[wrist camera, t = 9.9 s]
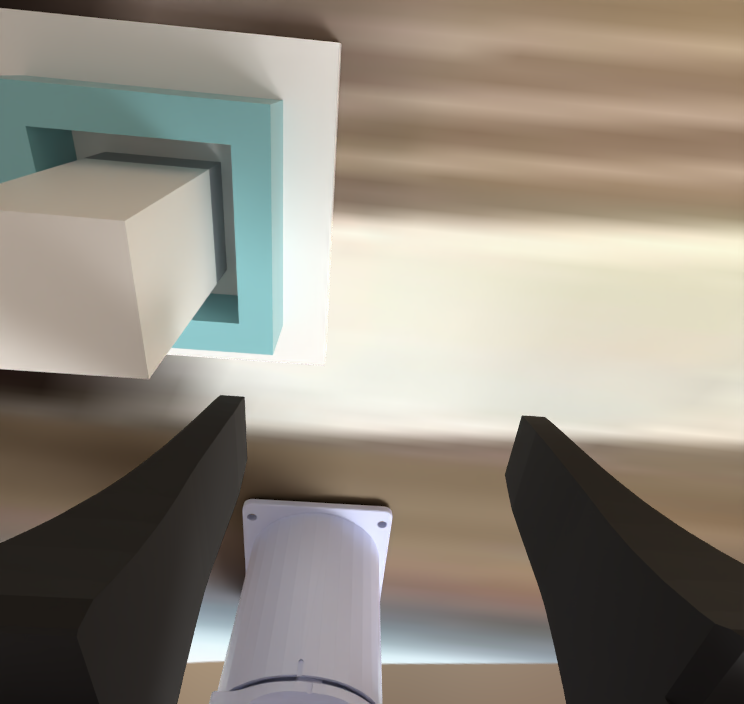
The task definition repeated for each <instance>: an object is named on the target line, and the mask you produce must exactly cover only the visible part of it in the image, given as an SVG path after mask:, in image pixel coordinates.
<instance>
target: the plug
mask: <svg viewBox="0 0 744 704" xmlns="http://www.w3.org/2000/svg"><path fill="white" fill-rule="evenodd" d="M226 270H227V263H226V245H225V227H224V209H223V192H222V174H221V162H214V161H202V160H191V159H180V158H169V157H158V156H147V155H136V154H125V153H113V152H102V153H99V154H96V155H92V156H89V157H86V158H83V159H79V160H76V161H73V162H69V163H66V164H63V165H59V166H56V167H53V168H50V169H46V170H43V171H40V172H36V173H33V174H30V175H26V176H23V177H20V178H16V179H13V180H10V181H7V182H3V183H0V369H8V370H23V371H37V372H52V373H66V374H81V375H96V376H110V377H125V378H139V379H149V378H150V377H151V376H152V374H153V373H154V371H155V370H156V369H157V367H158V366H159V364H160V363H161V362H162V360H163V359H164V357H165V356H166V355H167V353H168V352H169V350H170V349H171V348H172V346H173V345H174V343H175V342H176V341H177V339H178V338H179V336H180V335H181V334H182V332H183V331H184V329H185V328H186V327H187V325H188V324H189V322H190V321H191V320H192V318H193V317H194V315H195V314H196V313H197V311H198V310H199V308H200V307H201V305H202V304H203V303H204V301H205V300H206V298H207V297H208V296H209V294H210V293H211V291H212V290H213V289H214V287H215V286H216V284H217V283H218V282H219V280H220V279H221V277H222V276H223V275H224V273H225V272H226Z"/></svg>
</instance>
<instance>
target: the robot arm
mask: <svg viewBox="0 0 744 704" xmlns="http://www.w3.org/2000/svg"><path fill="white" fill-rule="evenodd" d="M246 462H247V442H246V420H245V397H239V396H225V395H220V396H219V397H218V398H216V399H215V400H214V401H213V402H212V403H211V404H210V405H209V406H208V407H207V408H206V409H205V410H204V411H203V412H201V413H200V414H199V415H198V416H197V417H196V418H195V419H194V420H193V421H192V422H191V423H190V424H189V425H187V426H186V427H185V428H184V429H183V430H182V431H181V432H180V433H178V434H177V435H176V436H175V437H174V438H173V439H172V440H170V441H169V442H168V443H167V444H166V445H165V446H163V447H162V448H161V449H160V450H158V451H157V452H156V453H155V454H153V455H152V456H151V457H150V458H148V459H147V460H146V461H144V462H143V463H142V464H141V465H139V466H138V467H137V468H135V469H134V470H133V471H131V472H130V473H128V474H127V475H125V476H124V477H122V478H121V479H119V480H118V481H116V482H115V483H113V484H112V485H110V486H109V487H107V488H106V489H104V490H102V491H101V492H99V493H98V494H96V495H94V496H92V497H91V498H89V499H87V500H85V501H83V502H82V503H80V504H78V505H76V506H75V507H73V508H71V509H69V510H68V511H66V512H64V513H62V514H60V515H59V516H57V517H55V518H53V519H51V520H49V521H47V522H45V523H43V524H41V525H39V526H37V527H35V528H32V529H30V530H28V531H26V532H24V533H22V534H20V535H17V536H15V537H13V538H11V539H9V540H6V541H4V542H2V543H0V704H177V702H178V698H179V694H180V689H181V685H182V680H183V676H184V672H185V668H186V663H187V659H188V655H189V651H190V647H191V643H192V639H193V635H194V631H195V627H196V623H197V619H198V615H199V611H200V607H201V603H202V599H203V596H204V592H205V588H206V585H207V582H208V579H209V576H210V573H211V570H212V567H213V564H214V562H215V559H216V556H217V554H218V551H219V548H220V545H221V543H222V540H223V537H224V535H225V532H226V529H227V526H228V524H229V521H230V518H231V515H232V513H233V510H234V507H235V504H236V502H237V499H238V496H239V493H240V489H241V484H242V480H243V476H244V471H245V467H246ZM505 477H506V483H507V488H508V493H509V498H510V503H511V507H512V511H513V514H514V517H515V520H516V523H517V526H518V529H519V532H520V535H521V538H522V541H523V543H524V546H525V549H526V552H527V555H528V558H529V560H530V563H531V566H532V569H533V572H534V575H535V578H536V580H537V583H538V586H539V589H540V592H541V596H542V599H543V602H544V605H545V609H546V613H547V618H548V622H549V626H550V630H551V634H552V639H553V643H554V647H555V652H556V656H557V661H558V666H559V670H560V675H561V680H562V684H563V689H564V694H565V700H566V704H744V564H742V563H741V562H739V561H737V560H735V559H733V558H732V557H730V556H728V555H726V554H724V553H723V552H721V551H719V550H718V549H716V548H714V547H713V546H711V545H709V544H708V543H706V542H704V541H702V540H701V539H699V538H697V537H696V536H694V535H693V534H691V533H689V532H688V531H686V530H685V529H683V528H682V527H680V526H678V525H677V524H675V523H674V522H673V521H671V520H670V519H668V518H667V517H665V516H664V515H662V514H661V513H660V512H658V511H657V510H655V509H654V508H652V507H651V506H650V505H648V504H647V503H645V502H644V501H643V500H641V499H640V498H639V497H637V496H636V495H635V494H634V493H632V492H631V491H630V490H629V489H627V488H626V487H625V486H624V485H622V484H621V483H620V482H619V481H617V480H616V479H615V478H614V477H613V476H611V475H610V474H609V473H608V472H607V471H605V470H604V469H603V468H602V467H601V466H600V465H598V464H597V463H596V462H595V461H594V460H593V459H592V458H590V457H589V456H588V455H587V454H586V453H585V452H584V451H583V450H582V449H580V448H579V447H578V446H577V445H576V444H575V443H574V442H573V441H572V440H571V439H569V438H568V437H567V436H566V435H565V434H564V433H563V432H562V431H561V430H559V429H558V428H557V427H556V426H555V425H554V424H553V423H551V422H550V421H549V420H548V419H547V418H545V417H536V416H522V417H521V421H520V424H519V428H518V431H517V435H516V438H515V442H514V445H513V449H512V452H511V455H510V459H509V462H508V466H507V469H506V473H505ZM242 512H243V530H244V549H245V568H246V576H245V580H244V584H243V588H242V592H241V597H240V601H239V605H238V609H237V613H236V617H235V621H234V625H233V630H232V634H231V638H230V642H229V646H228V650H227V654H226V658H225V662H224V667H223V671H222V675H221V679H220V683H219V687H218V691H214V692H212V694H211V698H210V702H209V704H382V679H381V678H382V675H381V629H380V596H381V590H382V583H383V576H384V570H385V563H386V556H387V550H388V543H389V536H390V530H391V523H392V511H391V509H390V508H388V507H384V506H368V505H351V504H333V503H316V502H299V501H281V500H264V499H248V500H246V501H245V502H244V505H243V509H242ZM251 514H255V515H251ZM380 521H384V522H380Z"/></svg>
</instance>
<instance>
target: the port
mask: <svg viewBox="0 0 744 704" xmlns="http://www.w3.org/2000/svg"><path fill="white" fill-rule="evenodd" d="M340 62H341V43H337V42H328V41H318V40H308V39H298V38H289V37H279V36H269V35H259V34H250V33H240V32H230V31H220V30H211V29H201V28H191V27H181V26H172V25H162V24H152V23H142V22H133V21H123V20H113V19H103V18H94V17H84V16H74V15H64V14H55V13H45V12H35V11H25V10H16V9H6V8H0V183H3V182H7V181H10V180H13V179H16V178H20V177H23V176H26V175H30V174H33V173H36V172H40V171H43V170H46V169H50V168H53V167H56V166H59V165H63V164H66V163H69V162H73V161H76V160H79V159H83V158H86V157H89V156H92V155H96V154H99V153H102V152H113V153H125V154H136V155H147V156H158V157H169V158H180V159H191V160H202V161H214V162H221V174H222V192H223V209H224V227H225V245H226V263H227V270H226V272H225V273H224V275H223V276H222V277H221V279H220V280H219V282H218V283H217V284H216V286H215V287H214V289H213V290H212V291H211V293H210V294H209V296H208V297H207V298H206V300H205V301H204V303H203V304H202V305H201V307H200V308H199V310H198V311H197V313H196V314H195V315H194V317H193V318H192V320H191V321H190V322H189V324H188V325H187V327H186V328H185V329H184V331H183V332H182V334H181V335H180V336H179V338H178V339H177V341H176V342H175V343H174V345H173V346H172V348H171V349H170V350H169V352H168V353H167V355H181V356H195V357H209V358H223V359H237V360H251V361H265V362H279V363H293V364H308V365H322V366H325V359H326V348H327V327H328V307H329V287H330V266H331V246H332V226H333V205H334V185H335V164H336V144H337V124H338V103H339V83H340Z"/></svg>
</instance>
